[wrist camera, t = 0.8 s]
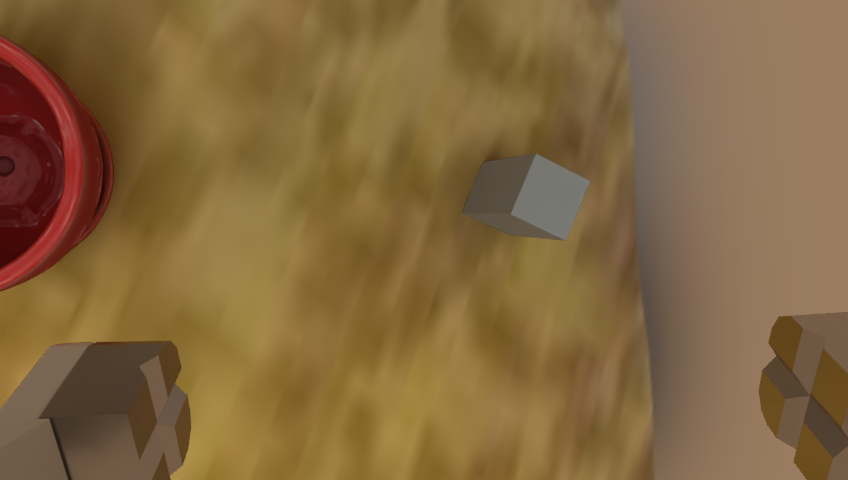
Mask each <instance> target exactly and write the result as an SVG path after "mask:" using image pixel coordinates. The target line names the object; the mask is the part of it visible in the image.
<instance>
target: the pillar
mask: <svg viewBox="0 0 848 480" xmlns="http://www.w3.org/2000/svg"><path fill="white" fill-rule="evenodd" d="M589 183H590V181H589V180H587V179H585V178H583V177H581V176H579V175H577V174H575V173H573V172H571V171H569V170H568V169H566V168H564V167H562V166H560V165H558V164H556V163H554V162H552V161H550V160H548V159H546V158H544V157H542V156H540V155H538V154H530V155H524V156H518V157H511V158H505V159H499V160H493V161H487V162H483V164H482V166H481V169H480V171H479V173H478V176H477V178H476V180H475V183H474V185H473V187H472V190H471V192H470V194H469V197H468V199H467V202H466V204H465V206H464V209H463V211H462V213H464V214H466V215H468V216H470V217H472V218H474V219H477V220H479V221H481V222H483V223H485V224H487V225H489V226H492V227H494V228H496V229H498V230H500V231H502V232H504V233H506V234H509V235H518V236H527V237H537V238H546V239H556V240H565V241H566V239H567V236H568V234H569V231H570V229H571V227H572V224H573V222H574V219H575V217H576V214H577V212H578V210H579V207H580V205H581V202H582V200H583V197H584V195H585V193H586V190H587V188H588V185H589Z"/></svg>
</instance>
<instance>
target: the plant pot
mask: <svg viewBox="0 0 848 480" xmlns="http://www.w3.org/2000/svg"><path fill="white" fill-rule="evenodd" d="M113 179H114V171H113V160H112V155H111V151H110V147H109V144H108V141H107V138H106V136H105V134H104V132H103V130H102V128H101V126H100V125H99V123H98V121H97V120H96V118H95V117H94V116H93V114H92V113H91V112H90V111H89V109H88V108H87V107H86V106H85V105H84V104H83V103H82V102H81V101H80V100H79V99H78V98H77V97H76V95H75V94H74V93H73V91H72V90H71V89H70V88H69V87H68V86H67V85H66V83H65V82H64V81H63V80H62V79H61V78H60V77H59V76H58V75H57V74H55V73H54V72H53V71H52V70H51V69H50V68H49V67H48V66H47V65H45V64H44V63H43V62H42V61H40V60H39V59H38V58H37V57H35V56H34V55H33V54H31V53H30V52H28V51H27V50H25V49H24V48H22V47H21V46H19V45H17V44H16V43H14V42H12V41H11V40H9V39H7V38H5V37H3V36H1V35H0V291H3V290H6V289H9V288H11V287H14V286H16V285H19V284H21V283H23V282H26V281H28V280H30V279H31V278H33V277H35V276H37V275H39V274H41V273H42V272H44V271H45V270H47V269H49V268H50V267H52V266H53V265H54V264H55V263H57V262H58V261H59V260H61V259H62V258H63V257H64V256H65V255H66V254H67V253H68V252H69V251H70V250H71V249H73V248H74V247H76V246H77V245H78V244H79V243H81V242H82V241H83V240H84V239H85V238H86V237H87V236H88V235H89V234H90V233H91V232H92V230H93V229H94V228H95V227H96V225H97V224H98V222H99V221H100V219H101V217H102V216H103V214H104V212H105V210H106V208H107V205H108V203H109V200H110V197H111V193H112V188H113Z"/></svg>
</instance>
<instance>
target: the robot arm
mask: <svg viewBox="0 0 848 480" xmlns="http://www.w3.org/2000/svg"><path fill="white" fill-rule="evenodd" d="M769 345H770V346H771V348H772V349H773V351H774V353H775V354H776V357H775V358H774V359H773V360H772V361H771V362H770V363H769V364H768V365H767V366H766V367H765V368H764V369H763V370H762V375H761V381H760V386H759V396H760V403H761V411H762V413H763V415H764V418H765V420H766V423H767V425H768V426H769V428H770V429H771V431H772V432H773V434H774V435H775V437H776V438H778V439H780V440H781V441H783V442H785V443H787V444H788V445H790V446H792V447H794V448H795V449H796V453H795V457H794V463H795V464H796V465H797V467H798V468H799V470H800V471H801V472H802V474H803V475H804V476H805V478H806V479H807V480H848V312H841V313H827V314H811V315H795V316H782V317H781V316H780V317H778V319H777V320H776V322H775V324H774V325H773V327H772V330H771V334H770V338H769ZM180 370H181V363H180V359H179V355H178V351H177V347H176V346H175V345H174V344H173V343H172V342H171V341H128V342H96V343H93V342H81V343H63V344H56V345H53V346H50V347H49V348H48V349H47V350H46V352H45V353H44V354H43V355H42V357H41V358H40V359H39V361H38V362H37V363H36V364H35V366H34V367H33V368H32V369H31V371H30V372H29V373H28V375H27V376H26V377H25V378H24V380H23V381H22V382H21V383H20V385H19V386H18V387H17V389H16V390H15V391H14V392H13V394H12V395H11V396H10V397H9V399H8V400H7V401H6V403H5V404H4V405H3V406H2V408H1V409H0V480H170V475H171V474H172V473H173V472H175V471H176V470H177V469H178V468H180V467H181V466H182V465H183V462H184V460H185V457H186V454H187V451H188V446H189V439H190V431H191V419H190V407H189V402H188V397H187V395H186V394H185V393H184V392H183V391H182V390H181V389H180V388H179V387H178V386H177V385H176V384H175V382H176V379H177V377H178V375H179V372H180Z"/></svg>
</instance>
